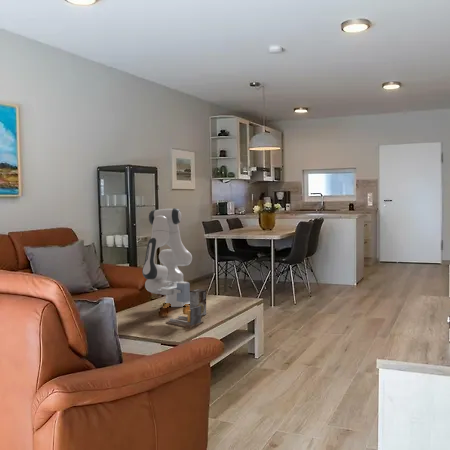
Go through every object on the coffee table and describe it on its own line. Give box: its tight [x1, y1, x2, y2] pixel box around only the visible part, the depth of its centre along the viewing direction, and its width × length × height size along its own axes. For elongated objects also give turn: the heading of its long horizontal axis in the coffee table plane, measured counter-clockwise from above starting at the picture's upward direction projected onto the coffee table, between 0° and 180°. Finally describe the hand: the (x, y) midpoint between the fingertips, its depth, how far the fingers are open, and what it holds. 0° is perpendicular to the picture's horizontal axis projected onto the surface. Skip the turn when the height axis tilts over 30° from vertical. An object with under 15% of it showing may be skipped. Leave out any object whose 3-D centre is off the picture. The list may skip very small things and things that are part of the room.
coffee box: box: [189, 288, 207, 316], centre depth 330 cm, size 9×6×16 cm
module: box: [177, 280, 191, 303], centre depth 309 cm, size 5×6×12 cm
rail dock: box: [165, 306, 204, 329], centre depth 310 cm, size 14×18×11 cm
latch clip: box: [187, 309, 191, 322], centre depth 307 cm, size 6×2×8 cm, turn 145°
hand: (184, 290), depth 309 cm, fingers closed on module, 5 cm apart
